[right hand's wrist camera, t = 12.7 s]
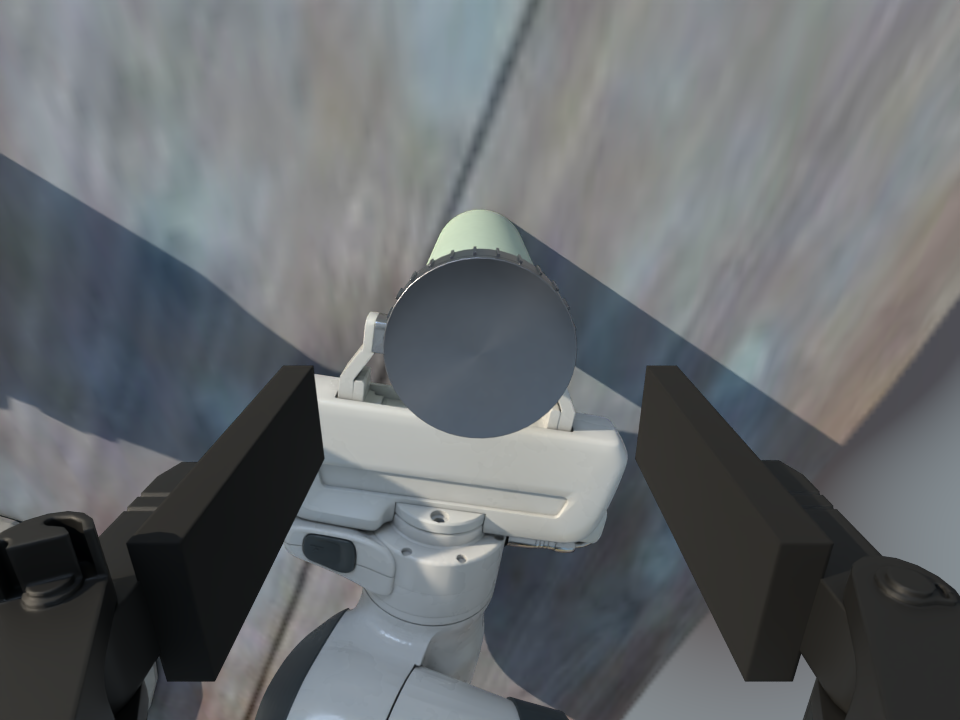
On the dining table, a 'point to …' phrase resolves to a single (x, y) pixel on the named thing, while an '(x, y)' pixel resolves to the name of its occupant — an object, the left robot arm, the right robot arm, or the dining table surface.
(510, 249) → the jar
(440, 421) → the lid
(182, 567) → the right robot arm
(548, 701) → the dining table surface
